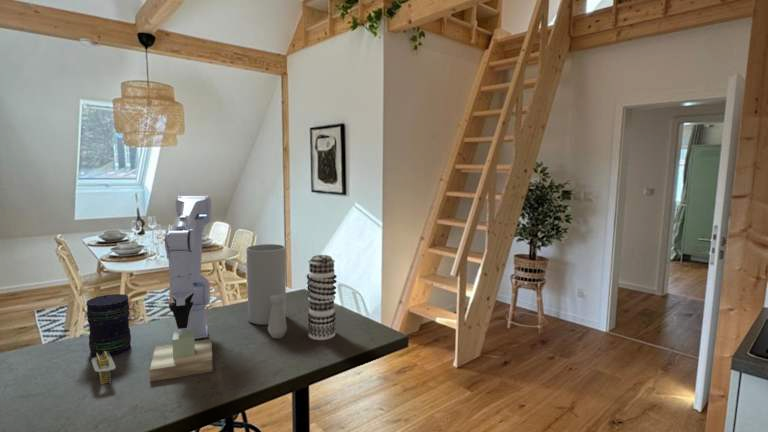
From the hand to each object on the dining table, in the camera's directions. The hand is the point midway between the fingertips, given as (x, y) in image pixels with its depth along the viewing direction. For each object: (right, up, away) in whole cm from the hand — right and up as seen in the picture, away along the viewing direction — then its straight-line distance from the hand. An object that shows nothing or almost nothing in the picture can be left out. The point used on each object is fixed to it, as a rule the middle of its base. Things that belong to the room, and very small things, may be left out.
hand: (183, 322), depth 114 cm
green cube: (+2, -7, -4) cm, 8 cm away
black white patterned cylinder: (+35, -8, +17) cm, 40 cm away
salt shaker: (+22, -8, +15) cm, 28 cm away
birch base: (+2, -10, -4) cm, 11 cm away
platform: (-13, -11, -12) cm, 21 cm away
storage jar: (-22, -9, +3) cm, 24 cm away
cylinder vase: (+15, -6, +30) cm, 34 cm away
